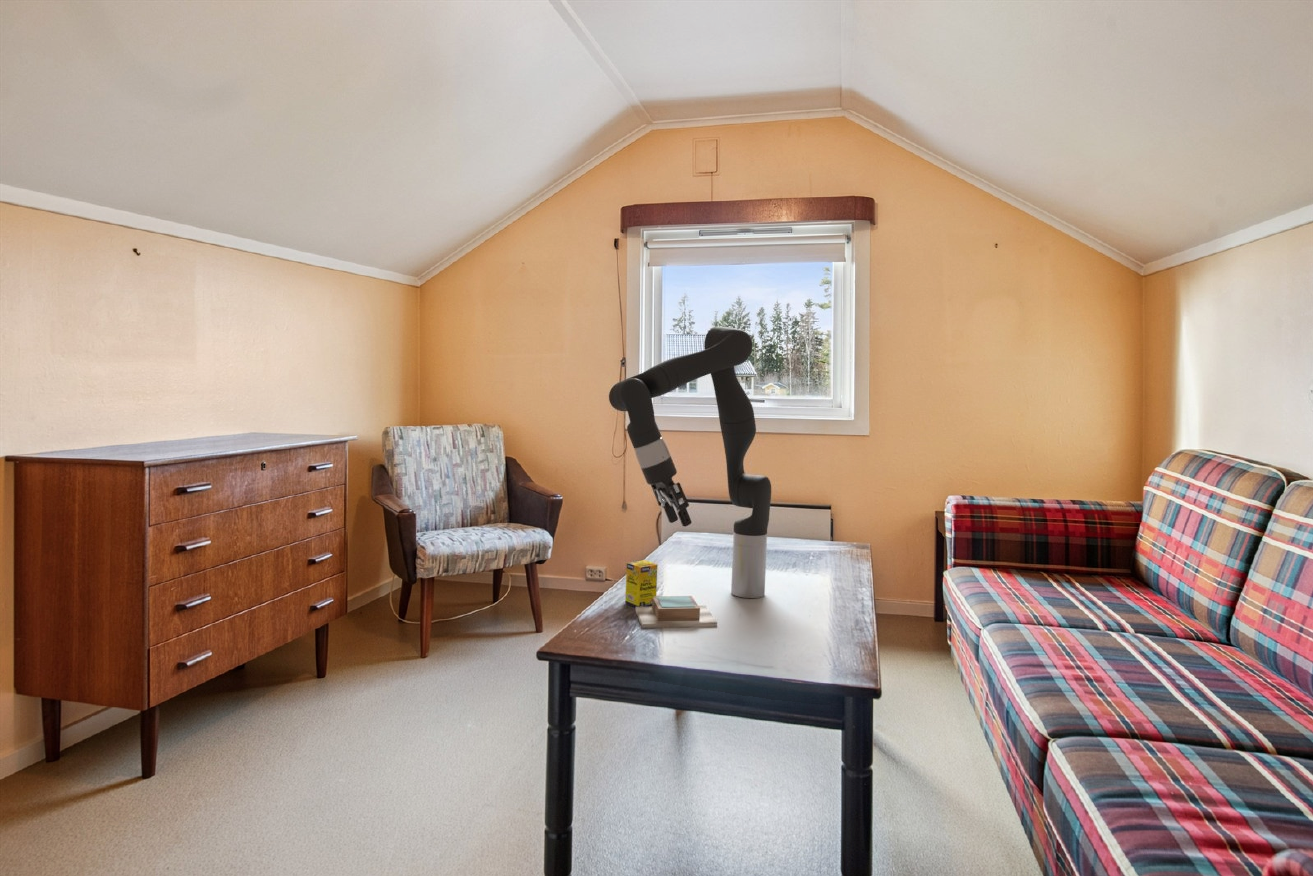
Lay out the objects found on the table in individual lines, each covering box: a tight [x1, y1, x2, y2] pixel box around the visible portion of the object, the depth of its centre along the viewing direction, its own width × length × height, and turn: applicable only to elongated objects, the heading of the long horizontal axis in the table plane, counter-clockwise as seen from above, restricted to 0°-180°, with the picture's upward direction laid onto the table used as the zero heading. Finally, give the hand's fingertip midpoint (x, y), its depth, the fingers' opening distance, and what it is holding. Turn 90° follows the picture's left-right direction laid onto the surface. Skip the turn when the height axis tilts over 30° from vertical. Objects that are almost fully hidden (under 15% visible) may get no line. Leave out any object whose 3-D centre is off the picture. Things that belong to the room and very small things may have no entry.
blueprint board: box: [635, 595, 718, 629], centre depth 174 cm, size 13×18×4 cm
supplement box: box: [624, 559, 658, 609], centre depth 184 cm, size 6×6×11 cm
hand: (680, 523), depth 167 cm, fingers open, 8 cm apart
